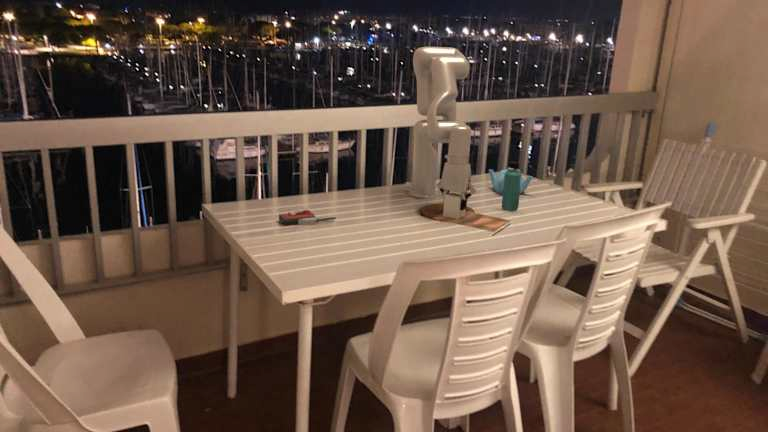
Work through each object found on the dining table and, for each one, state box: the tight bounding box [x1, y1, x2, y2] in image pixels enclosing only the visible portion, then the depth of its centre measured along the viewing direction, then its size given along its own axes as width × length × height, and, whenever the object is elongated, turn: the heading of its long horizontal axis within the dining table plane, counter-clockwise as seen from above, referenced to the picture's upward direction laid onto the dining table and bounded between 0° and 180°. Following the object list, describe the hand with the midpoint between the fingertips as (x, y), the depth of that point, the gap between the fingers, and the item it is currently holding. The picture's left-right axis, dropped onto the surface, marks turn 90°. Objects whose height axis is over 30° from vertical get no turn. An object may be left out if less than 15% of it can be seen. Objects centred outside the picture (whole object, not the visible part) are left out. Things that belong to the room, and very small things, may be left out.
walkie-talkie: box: [278, 208, 337, 227], centre depth 214 cm, size 9×4×20 cm
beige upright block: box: [442, 191, 466, 219], centre depth 221 cm, size 6×6×8 cm
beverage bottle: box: [501, 161, 522, 212], centre depth 231 cm, size 6×7×20 cm
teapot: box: [488, 167, 533, 195], centre depth 263 cm, size 15×15×11 cm
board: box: [432, 210, 511, 237], centre depth 219 cm, size 24×16×6 cm, turn 57°
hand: (454, 207), depth 222 cm, fingers closed on beige upright block, 6 cm apart
